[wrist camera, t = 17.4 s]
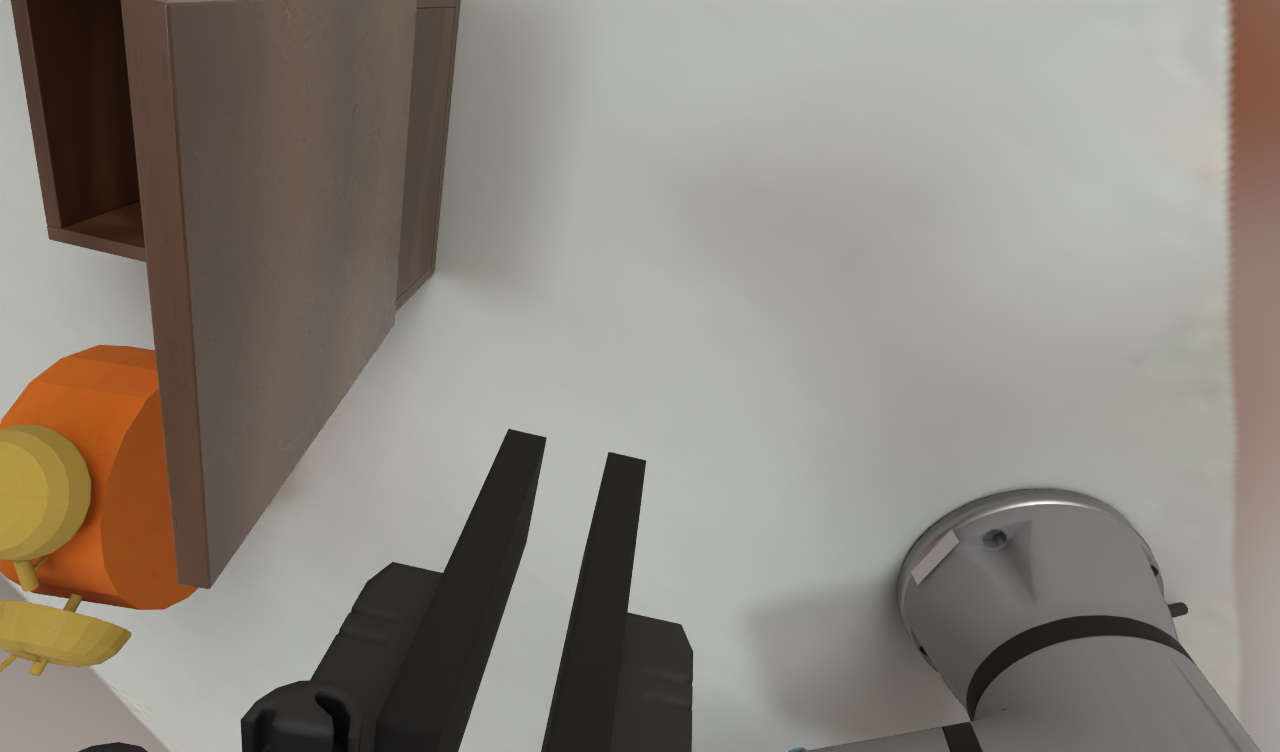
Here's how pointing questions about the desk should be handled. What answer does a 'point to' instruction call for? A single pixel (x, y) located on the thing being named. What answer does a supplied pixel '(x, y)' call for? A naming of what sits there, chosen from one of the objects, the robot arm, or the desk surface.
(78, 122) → the storage box
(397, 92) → the box lid
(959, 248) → the desk surface
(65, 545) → the alarm clock
